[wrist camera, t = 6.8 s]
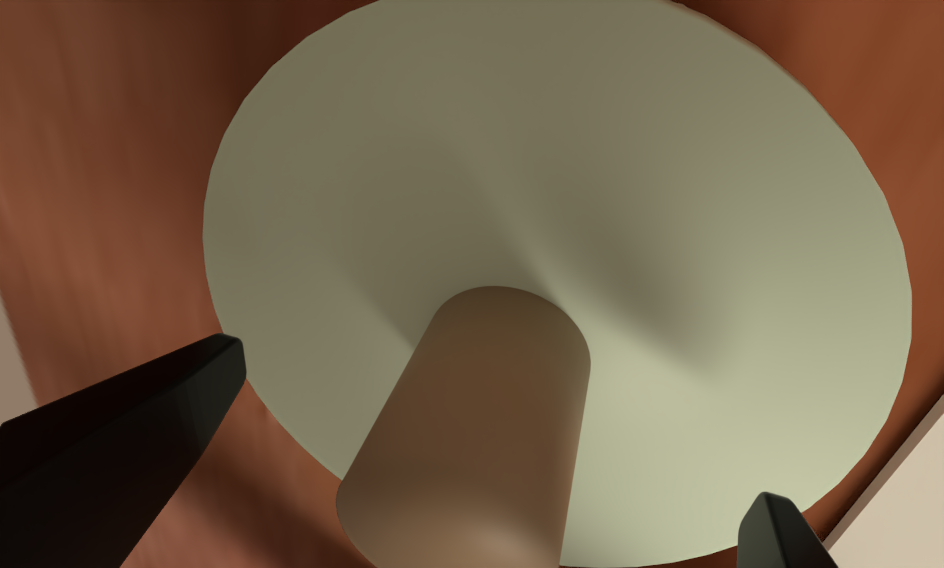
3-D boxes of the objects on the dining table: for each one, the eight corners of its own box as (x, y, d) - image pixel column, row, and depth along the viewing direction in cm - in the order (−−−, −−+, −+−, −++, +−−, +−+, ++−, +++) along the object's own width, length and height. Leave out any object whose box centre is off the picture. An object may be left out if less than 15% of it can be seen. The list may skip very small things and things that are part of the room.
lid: (726, 598, 15) (747, 849, 11) (255, 448, 17) (132, 614, 13) (1107, 64, 7) (1604, 253, 3) (180, -92, 9) (-168, -83, 5)
